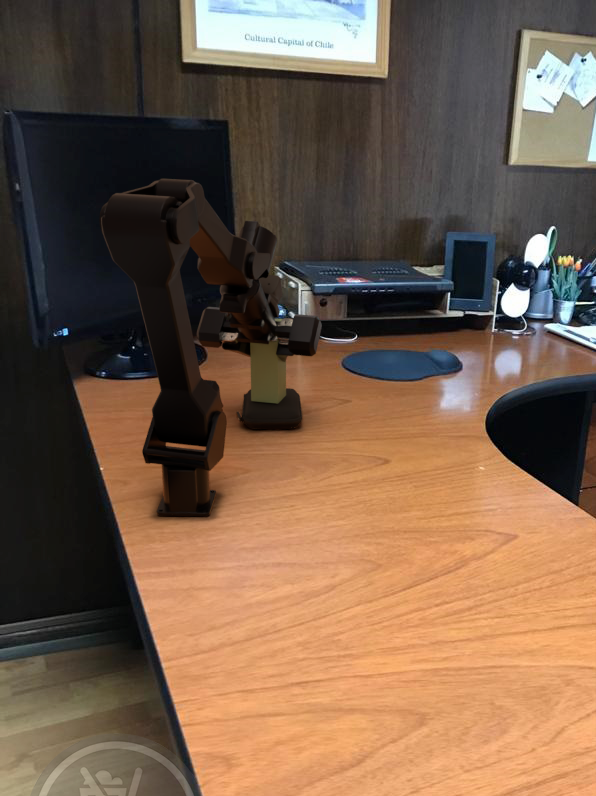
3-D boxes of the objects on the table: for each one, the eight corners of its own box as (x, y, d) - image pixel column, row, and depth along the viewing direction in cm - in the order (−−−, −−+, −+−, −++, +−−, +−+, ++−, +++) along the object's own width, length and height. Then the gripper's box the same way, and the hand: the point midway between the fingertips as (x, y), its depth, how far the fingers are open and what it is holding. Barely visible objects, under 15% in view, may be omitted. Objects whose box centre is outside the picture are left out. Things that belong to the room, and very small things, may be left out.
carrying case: (238, 401, 136) (235, 432, 122) (238, 385, 135) (234, 414, 121) (299, 401, 137) (303, 432, 124) (299, 385, 136) (303, 414, 123)
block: (278, 403, 126) (277, 325, 121) (251, 401, 127) (249, 323, 122) (286, 395, 130) (286, 319, 126) (260, 392, 131) (258, 317, 126)
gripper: (319, 264, 115) (335, 321, 129) (200, 255, 118) (228, 312, 132) (305, 328, 111) (322, 379, 125) (182, 317, 113) (212, 369, 127)
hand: (271, 357), depth 127 cm, fingers closed on block, 4 cm apart
